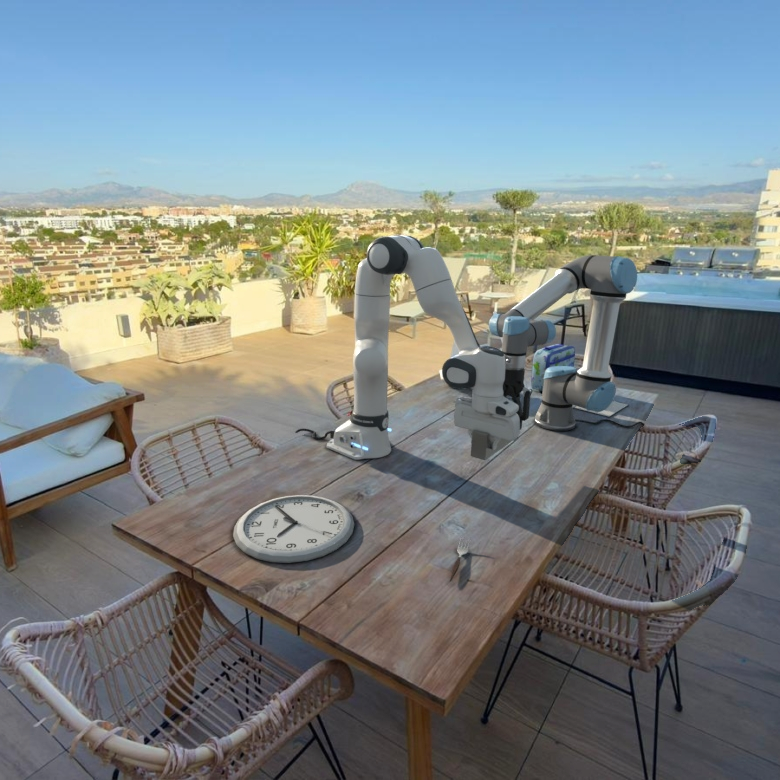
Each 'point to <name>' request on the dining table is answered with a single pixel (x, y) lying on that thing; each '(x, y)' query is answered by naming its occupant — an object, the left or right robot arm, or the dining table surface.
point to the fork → (461, 551)
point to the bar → (485, 445)
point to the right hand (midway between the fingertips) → (506, 436)
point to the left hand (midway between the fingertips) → (483, 446)
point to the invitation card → (608, 409)
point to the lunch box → (550, 362)
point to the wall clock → (293, 529)
